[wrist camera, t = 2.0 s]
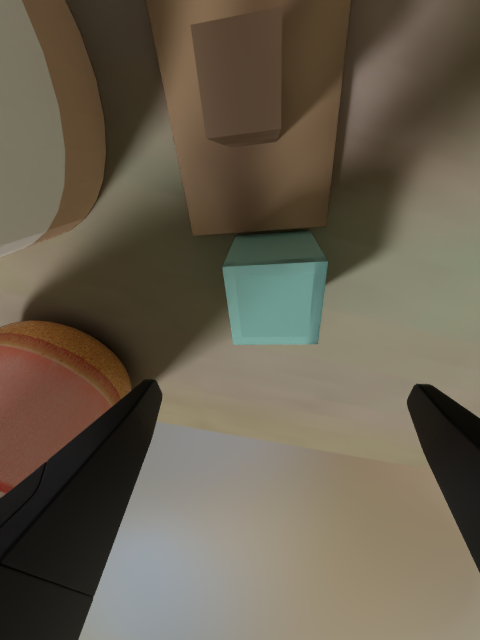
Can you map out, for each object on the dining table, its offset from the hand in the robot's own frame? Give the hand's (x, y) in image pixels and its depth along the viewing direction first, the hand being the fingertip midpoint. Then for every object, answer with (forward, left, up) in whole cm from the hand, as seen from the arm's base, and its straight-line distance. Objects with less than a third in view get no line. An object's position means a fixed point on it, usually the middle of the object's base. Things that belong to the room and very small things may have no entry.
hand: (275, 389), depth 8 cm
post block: (+1, -9, -12) cm, 15 cm away
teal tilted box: (0, 0, -12) cm, 12 cm away
